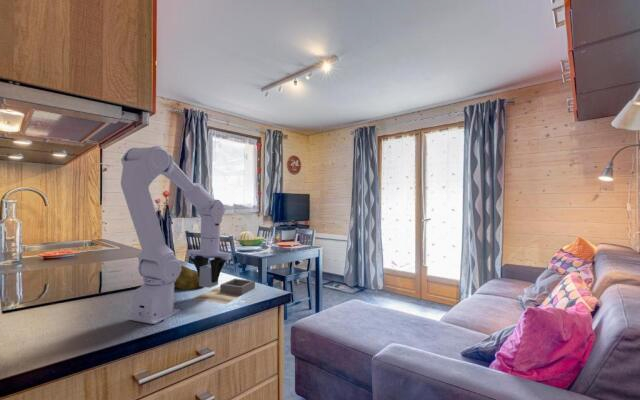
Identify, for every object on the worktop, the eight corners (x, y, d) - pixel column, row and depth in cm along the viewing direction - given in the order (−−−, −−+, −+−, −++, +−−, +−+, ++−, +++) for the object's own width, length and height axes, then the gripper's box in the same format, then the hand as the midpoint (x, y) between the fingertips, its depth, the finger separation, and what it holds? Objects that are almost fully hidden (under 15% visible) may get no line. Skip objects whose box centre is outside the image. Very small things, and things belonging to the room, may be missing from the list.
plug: (210, 287, 97) (210, 268, 97) (199, 286, 98) (199, 266, 98) (218, 284, 101) (219, 265, 101) (208, 282, 102) (208, 264, 103)
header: (241, 295, 101) (242, 287, 101) (220, 292, 104) (220, 284, 104) (255, 288, 110) (255, 280, 110) (234, 285, 112) (234, 278, 112)
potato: (196, 294, 103) (196, 269, 103) (160, 291, 105) (160, 267, 105) (208, 287, 111) (209, 264, 111) (175, 284, 113) (175, 262, 113)
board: (226, 305, 93) (226, 303, 93) (191, 300, 97) (191, 298, 97) (255, 289, 110) (255, 287, 110) (225, 285, 114) (225, 283, 114)
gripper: (237, 237, 101) (235, 280, 101) (198, 234, 105) (197, 275, 105) (224, 240, 94) (223, 285, 94) (184, 237, 99) (182, 280, 99)
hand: (208, 281), depth 99 cm, fingers closed on plug, 4 cm apart
